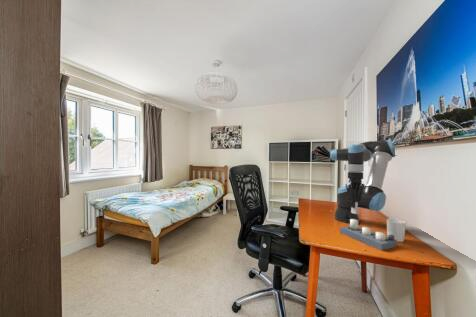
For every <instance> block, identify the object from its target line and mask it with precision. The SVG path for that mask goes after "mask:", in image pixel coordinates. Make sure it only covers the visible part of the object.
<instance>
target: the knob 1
mask: <svg viewBox="0 0 476 317" xmlns="http://www.w3.org/2000/svg"><path fill="white" fill-rule="evenodd" d="M349 226H350V229H352V230H358V227H359V223H358V220H356V219H350V223H349Z"/></svg>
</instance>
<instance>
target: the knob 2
mask: <svg viewBox="0 0 476 317" xmlns="http://www.w3.org/2000/svg"><path fill="white" fill-rule="evenodd" d="M375 233H376V239H377V240H380V241H382V242H384V241H385V239H386V237H387V236H386V233H385V232H382V231H375Z"/></svg>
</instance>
